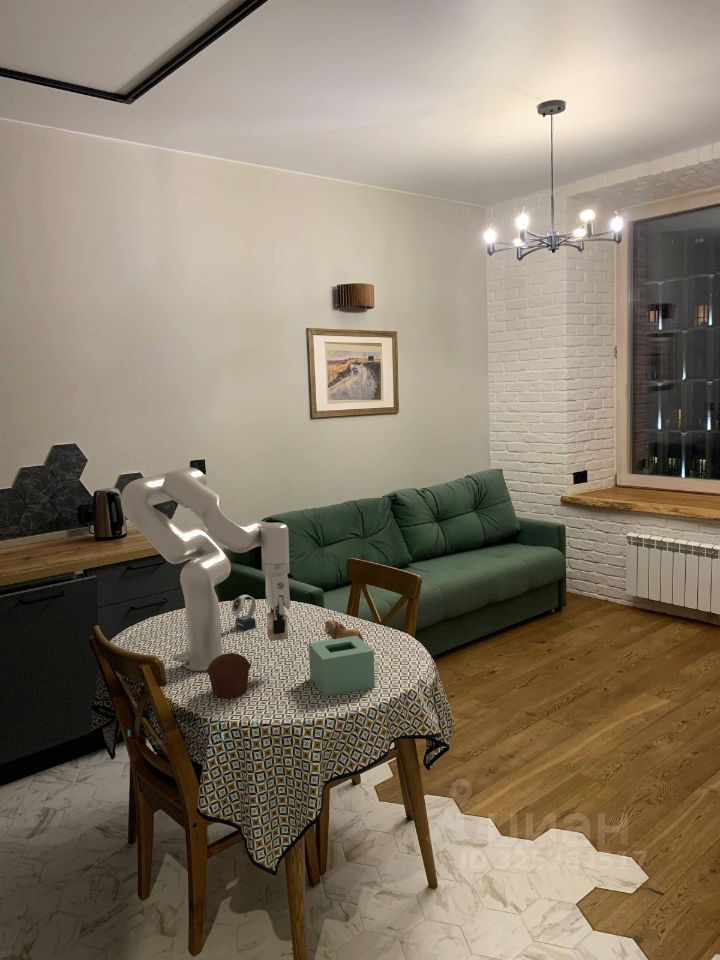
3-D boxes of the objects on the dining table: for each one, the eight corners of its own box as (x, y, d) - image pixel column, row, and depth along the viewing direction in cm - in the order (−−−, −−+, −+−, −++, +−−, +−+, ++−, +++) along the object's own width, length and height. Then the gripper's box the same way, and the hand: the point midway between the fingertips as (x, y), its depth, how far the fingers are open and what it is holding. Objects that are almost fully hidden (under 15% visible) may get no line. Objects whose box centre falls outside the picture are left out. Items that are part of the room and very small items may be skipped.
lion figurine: (322, 650, 219) (321, 622, 218) (329, 644, 224) (328, 616, 223) (367, 655, 214) (366, 626, 213) (373, 649, 219) (372, 620, 218)
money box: (324, 696, 187) (322, 659, 186) (310, 678, 199) (308, 643, 198) (374, 687, 192) (373, 650, 190) (358, 669, 204) (356, 635, 202)
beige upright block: (270, 641, 201) (269, 617, 200) (267, 637, 205) (266, 613, 204) (288, 638, 203) (287, 614, 202) (285, 634, 206) (284, 611, 205)
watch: (231, 628, 243) (228, 596, 242) (251, 622, 248) (249, 591, 247) (239, 632, 239) (237, 600, 237) (260, 626, 244) (258, 595, 242)
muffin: (240, 679, 200) (238, 644, 199) (260, 692, 191) (258, 656, 190) (200, 691, 193) (198, 655, 192) (219, 705, 184) (216, 667, 183)
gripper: (296, 573, 195) (298, 638, 197) (281, 559, 210) (283, 620, 212) (269, 576, 192) (271, 642, 195) (256, 562, 207) (258, 623, 210)
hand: (277, 630), depth 203 cm, fingers closed on beige upright block, 3 cm apart
